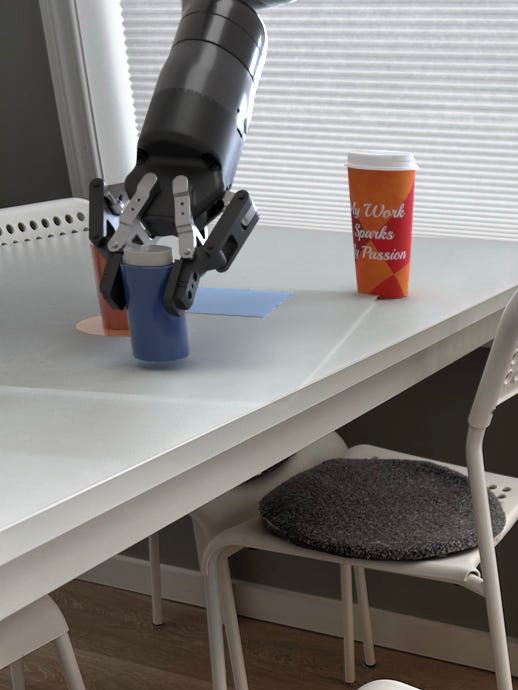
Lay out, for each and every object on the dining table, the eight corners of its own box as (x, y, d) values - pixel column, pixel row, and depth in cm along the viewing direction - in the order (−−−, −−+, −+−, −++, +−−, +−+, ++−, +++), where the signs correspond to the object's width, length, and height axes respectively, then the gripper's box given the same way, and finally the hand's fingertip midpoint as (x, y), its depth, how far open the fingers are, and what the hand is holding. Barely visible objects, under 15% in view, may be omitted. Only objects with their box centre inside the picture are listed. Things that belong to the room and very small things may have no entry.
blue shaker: (124, 359, 74) (107, 251, 70) (145, 346, 78) (131, 242, 74) (178, 363, 74) (165, 255, 70) (197, 349, 78) (186, 245, 74)
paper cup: (336, 296, 103) (331, 152, 96) (364, 284, 109) (361, 147, 102) (403, 303, 101) (403, 157, 94) (428, 290, 107) (430, 152, 100)
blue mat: (123, 312, 93) (122, 308, 92) (167, 288, 103) (167, 284, 103) (263, 321, 92) (263, 316, 92) (294, 296, 102) (294, 292, 102)
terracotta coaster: (58, 337, 84) (57, 332, 84) (101, 315, 91) (100, 310, 91) (157, 343, 83) (157, 338, 83) (192, 320, 91) (192, 316, 91)
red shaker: (94, 328, 85) (78, 232, 81) (114, 317, 89) (100, 225, 85) (141, 331, 85) (128, 235, 81) (159, 320, 89) (147, 228, 85)
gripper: (94, 79, 74) (30, 268, 70) (266, 89, 72) (209, 286, 68) (138, 151, 81) (83, 326, 77) (296, 162, 79) (247, 344, 75)
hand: (142, 306), depth 72 cm, fingers closed on blue shaker, 4 cm apart
